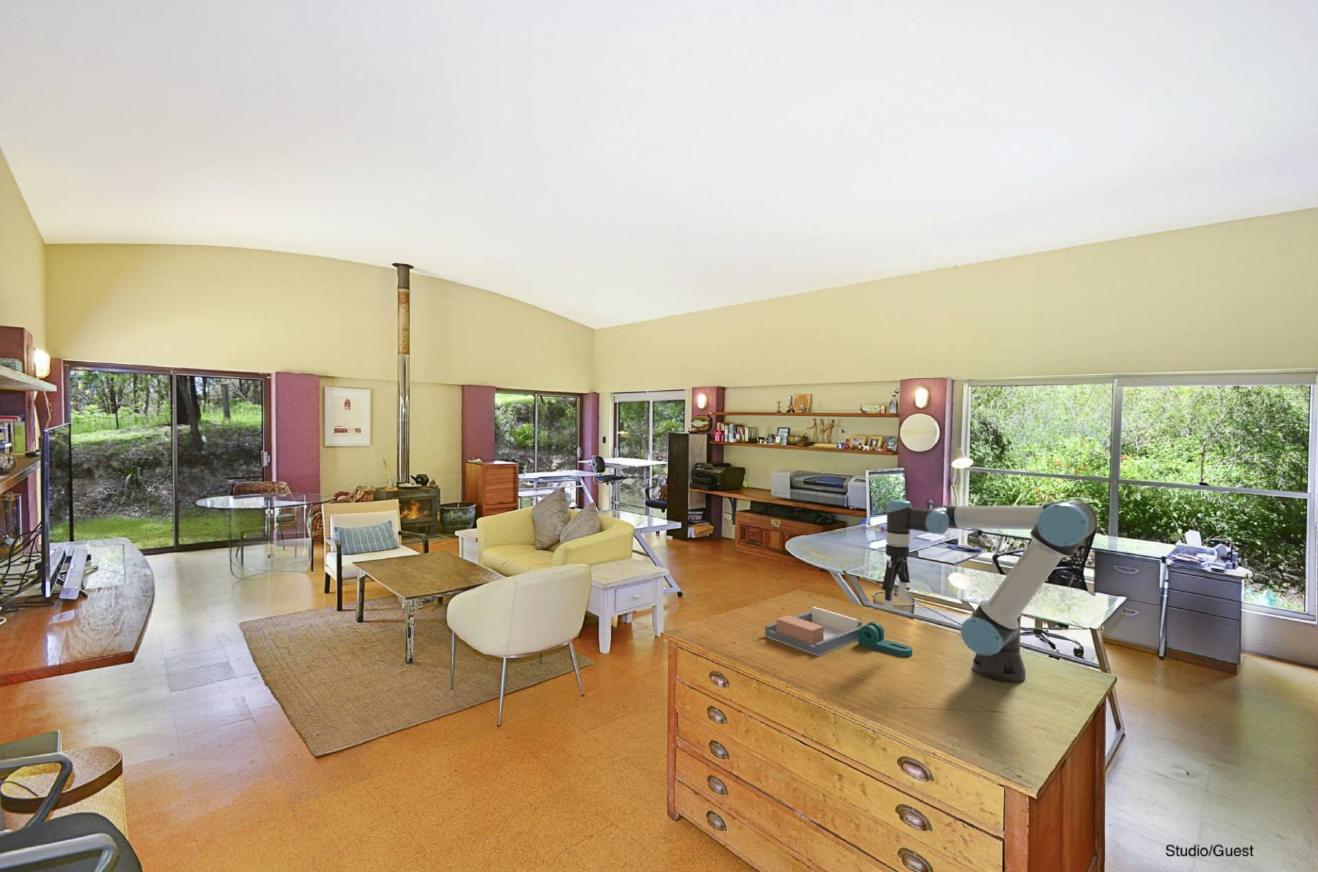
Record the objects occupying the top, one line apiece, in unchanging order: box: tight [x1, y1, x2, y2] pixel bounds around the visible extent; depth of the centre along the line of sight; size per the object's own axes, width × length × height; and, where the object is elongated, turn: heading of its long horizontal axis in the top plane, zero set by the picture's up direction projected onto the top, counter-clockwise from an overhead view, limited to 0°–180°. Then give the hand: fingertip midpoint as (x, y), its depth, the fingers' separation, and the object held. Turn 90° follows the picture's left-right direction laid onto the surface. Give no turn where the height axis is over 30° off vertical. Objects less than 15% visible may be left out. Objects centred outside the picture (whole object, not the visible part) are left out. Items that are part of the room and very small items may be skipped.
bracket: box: [857, 621, 913, 658], centre depth 214 cm, size 18×7×8 cm, turn 47°
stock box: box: [776, 614, 824, 646], centre depth 219 cm, size 7×16×7 cm, turn 40°
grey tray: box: [764, 610, 864, 657], centre depth 225 cm, size 30×24×6 cm
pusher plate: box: [811, 606, 859, 632], centre depth 233 cm, size 1×20×6 cm, turn 40°
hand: (895, 604), depth 206 cm, fingers open, 13 cm apart
